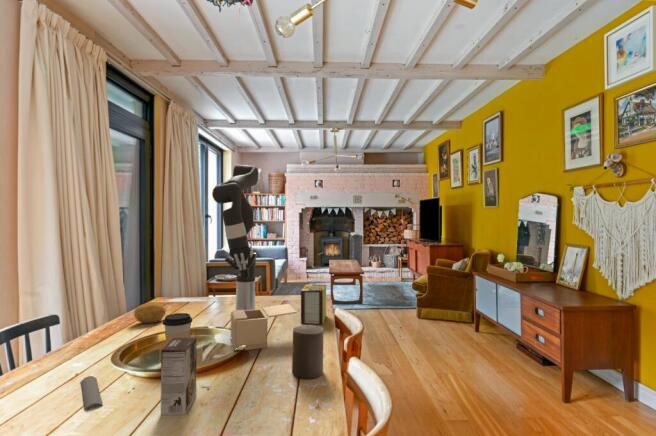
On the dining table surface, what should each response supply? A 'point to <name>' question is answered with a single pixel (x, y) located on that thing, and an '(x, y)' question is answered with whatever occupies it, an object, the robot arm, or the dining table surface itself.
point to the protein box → (313, 304)
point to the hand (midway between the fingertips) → (245, 278)
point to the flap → (279, 310)
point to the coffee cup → (177, 326)
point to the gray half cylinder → (90, 393)
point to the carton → (249, 329)
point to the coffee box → (178, 376)
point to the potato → (150, 312)
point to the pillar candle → (307, 351)
